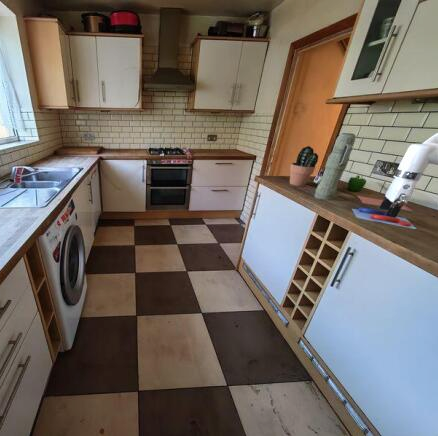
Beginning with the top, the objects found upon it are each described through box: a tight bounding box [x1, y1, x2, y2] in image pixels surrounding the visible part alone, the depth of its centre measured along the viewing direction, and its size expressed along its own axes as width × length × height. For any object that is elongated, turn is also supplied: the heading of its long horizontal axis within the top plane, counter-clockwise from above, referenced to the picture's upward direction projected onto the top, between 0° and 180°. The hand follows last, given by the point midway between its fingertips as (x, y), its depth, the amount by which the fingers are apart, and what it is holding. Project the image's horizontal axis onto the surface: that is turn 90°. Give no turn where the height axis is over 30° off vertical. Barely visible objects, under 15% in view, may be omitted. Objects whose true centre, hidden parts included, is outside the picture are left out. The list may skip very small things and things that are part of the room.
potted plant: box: [289, 145, 319, 187], centre depth 149 cm, size 14×14×25 cm
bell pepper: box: [347, 175, 367, 192], centre depth 143 cm, size 8×8×10 cm
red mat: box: [357, 195, 414, 212], centre depth 124 cm, size 20×13×1 cm, turn 59°
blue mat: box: [351, 208, 417, 230], centre depth 106 cm, size 20×13×1 cm, turn 59°
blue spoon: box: [357, 206, 397, 218], centre depth 109 cm, size 14×4×2 cm, turn 59°
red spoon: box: [370, 214, 412, 228], centre depth 102 cm, size 14×4×2 cm, turn 59°
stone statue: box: [314, 132, 356, 201], centre depth 122 cm, size 9×12×35 cm
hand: (386, 212), depth 101 cm, fingers open, 9 cm apart
